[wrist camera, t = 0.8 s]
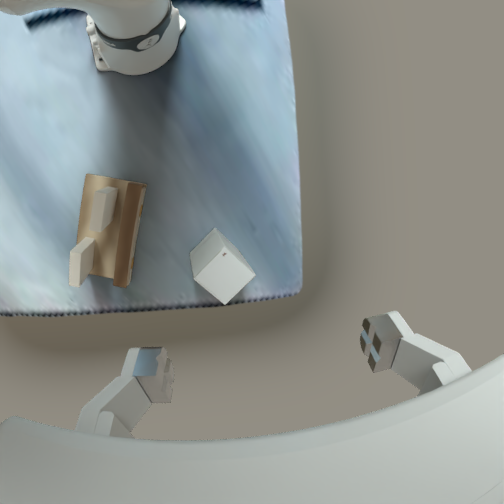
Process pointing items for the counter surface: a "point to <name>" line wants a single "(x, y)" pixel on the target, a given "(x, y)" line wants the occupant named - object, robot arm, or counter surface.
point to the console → (113, 228)
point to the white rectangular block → (81, 261)
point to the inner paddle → (103, 208)
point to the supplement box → (220, 267)
